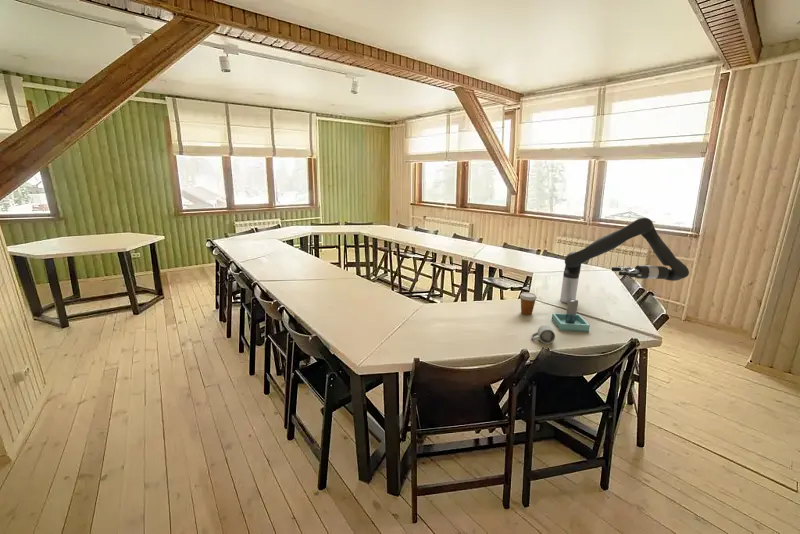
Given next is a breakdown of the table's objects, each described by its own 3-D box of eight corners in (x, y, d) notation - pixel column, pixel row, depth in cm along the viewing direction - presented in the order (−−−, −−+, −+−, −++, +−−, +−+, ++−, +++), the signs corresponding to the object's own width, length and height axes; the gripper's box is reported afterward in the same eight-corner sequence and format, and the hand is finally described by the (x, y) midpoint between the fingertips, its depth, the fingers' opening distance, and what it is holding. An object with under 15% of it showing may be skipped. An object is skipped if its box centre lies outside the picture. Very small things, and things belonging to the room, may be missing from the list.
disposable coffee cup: (524, 317, 212) (526, 298, 209) (515, 311, 221) (517, 292, 218) (538, 315, 215) (540, 296, 211) (528, 309, 223) (530, 291, 220)
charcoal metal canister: (563, 321, 203) (566, 298, 200) (572, 322, 203) (576, 299, 199) (566, 325, 199) (570, 301, 195) (576, 325, 198) (579, 302, 194)
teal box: (551, 319, 209) (552, 313, 208) (578, 320, 207) (579, 314, 206) (559, 330, 195) (560, 323, 193) (588, 332, 193) (589, 325, 192)
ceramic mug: (550, 337, 187) (552, 323, 185) (554, 344, 179) (556, 330, 177) (529, 335, 189) (530, 322, 187) (532, 343, 181) (533, 329, 179)
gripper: (640, 262, 204) (610, 261, 205) (654, 269, 190) (622, 268, 192) (638, 274, 206) (608, 274, 207) (652, 282, 192) (620, 281, 194)
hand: (615, 271), depth 200 cm, fingers open, 8 cm apart
